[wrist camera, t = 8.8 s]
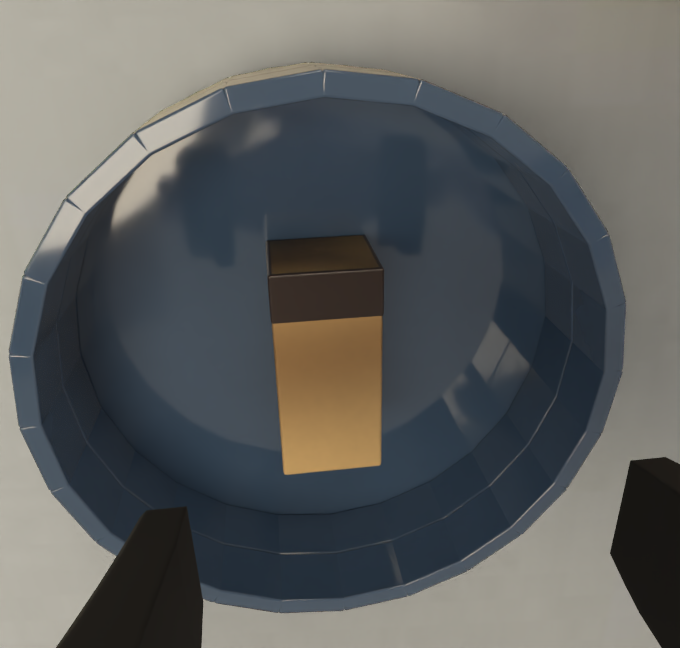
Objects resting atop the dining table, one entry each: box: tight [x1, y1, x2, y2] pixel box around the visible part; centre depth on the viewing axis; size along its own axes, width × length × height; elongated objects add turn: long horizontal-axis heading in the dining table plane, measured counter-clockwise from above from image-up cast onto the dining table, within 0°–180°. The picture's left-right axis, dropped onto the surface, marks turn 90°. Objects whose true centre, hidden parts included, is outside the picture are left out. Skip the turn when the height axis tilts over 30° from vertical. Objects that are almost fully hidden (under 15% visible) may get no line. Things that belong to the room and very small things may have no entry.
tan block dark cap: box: [265, 235, 384, 475], centre depth 16 cm, size 6×3×3 cm, turn 1°
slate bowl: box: [9, 62, 626, 613], centre depth 16 cm, size 14×14×4 cm
